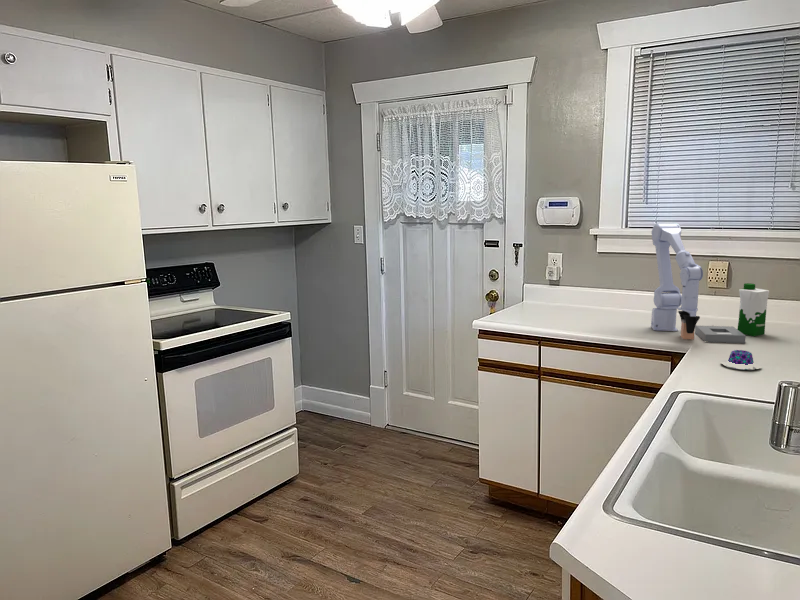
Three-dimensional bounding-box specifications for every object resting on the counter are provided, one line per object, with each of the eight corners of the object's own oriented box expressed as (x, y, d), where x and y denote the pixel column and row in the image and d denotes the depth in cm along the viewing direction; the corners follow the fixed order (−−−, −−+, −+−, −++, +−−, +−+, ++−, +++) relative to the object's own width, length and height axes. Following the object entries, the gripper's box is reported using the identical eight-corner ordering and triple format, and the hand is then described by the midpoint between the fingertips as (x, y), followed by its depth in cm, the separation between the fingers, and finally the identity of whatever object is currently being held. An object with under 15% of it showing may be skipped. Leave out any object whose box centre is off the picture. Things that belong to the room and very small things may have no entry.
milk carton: (746, 330, 250) (750, 282, 246) (768, 334, 242) (773, 285, 238) (733, 333, 246) (737, 284, 242) (754, 337, 238) (759, 287, 234)
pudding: (713, 367, 200) (715, 351, 200) (728, 360, 208) (729, 345, 207) (753, 374, 192) (754, 358, 191) (767, 367, 199) (768, 351, 199)
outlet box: (704, 342, 232) (705, 333, 232) (694, 332, 248) (695, 324, 247) (745, 343, 229) (745, 335, 228) (732, 333, 244) (733, 326, 244)
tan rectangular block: (682, 339, 238) (683, 321, 236) (680, 336, 241) (681, 319, 240) (693, 339, 237) (695, 321, 235) (691, 337, 241) (692, 319, 239)
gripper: (674, 293, 244) (673, 326, 246) (683, 299, 230) (680, 334, 232) (693, 294, 242) (691, 327, 245) (703, 300, 229) (700, 335, 231)
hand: (687, 331), depth 239 cm, fingers open, 7 cm apart
